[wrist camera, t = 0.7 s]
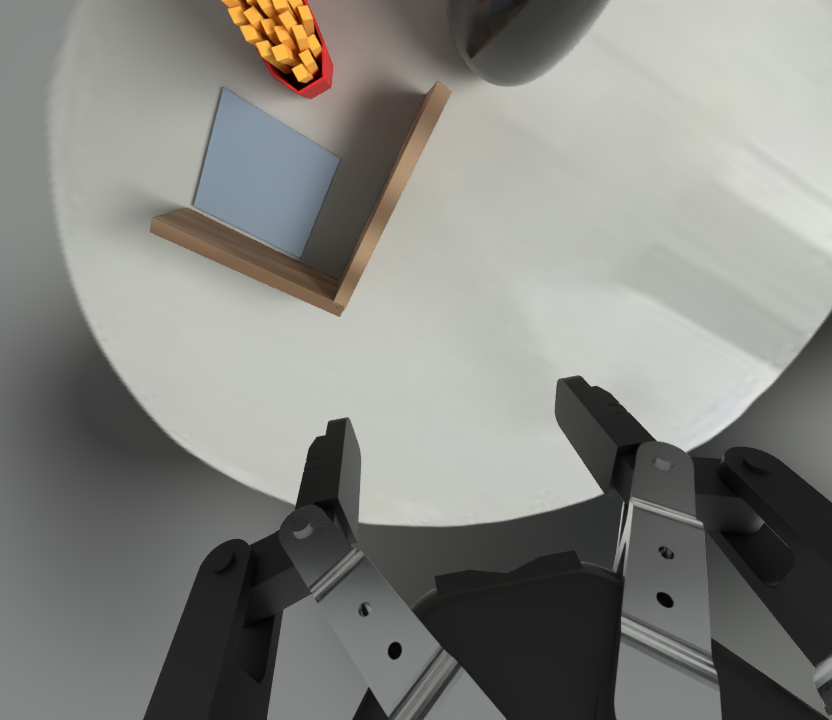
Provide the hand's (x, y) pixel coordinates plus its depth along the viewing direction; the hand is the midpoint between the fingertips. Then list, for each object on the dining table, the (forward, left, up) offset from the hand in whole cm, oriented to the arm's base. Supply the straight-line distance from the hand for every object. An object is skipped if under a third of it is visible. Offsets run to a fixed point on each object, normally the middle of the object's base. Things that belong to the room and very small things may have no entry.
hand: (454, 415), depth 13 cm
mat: (0, -14, -27) cm, 30 cm away
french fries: (-10, -15, -27) cm, 32 cm away
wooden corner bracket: (-3, -11, -27) cm, 29 cm away
